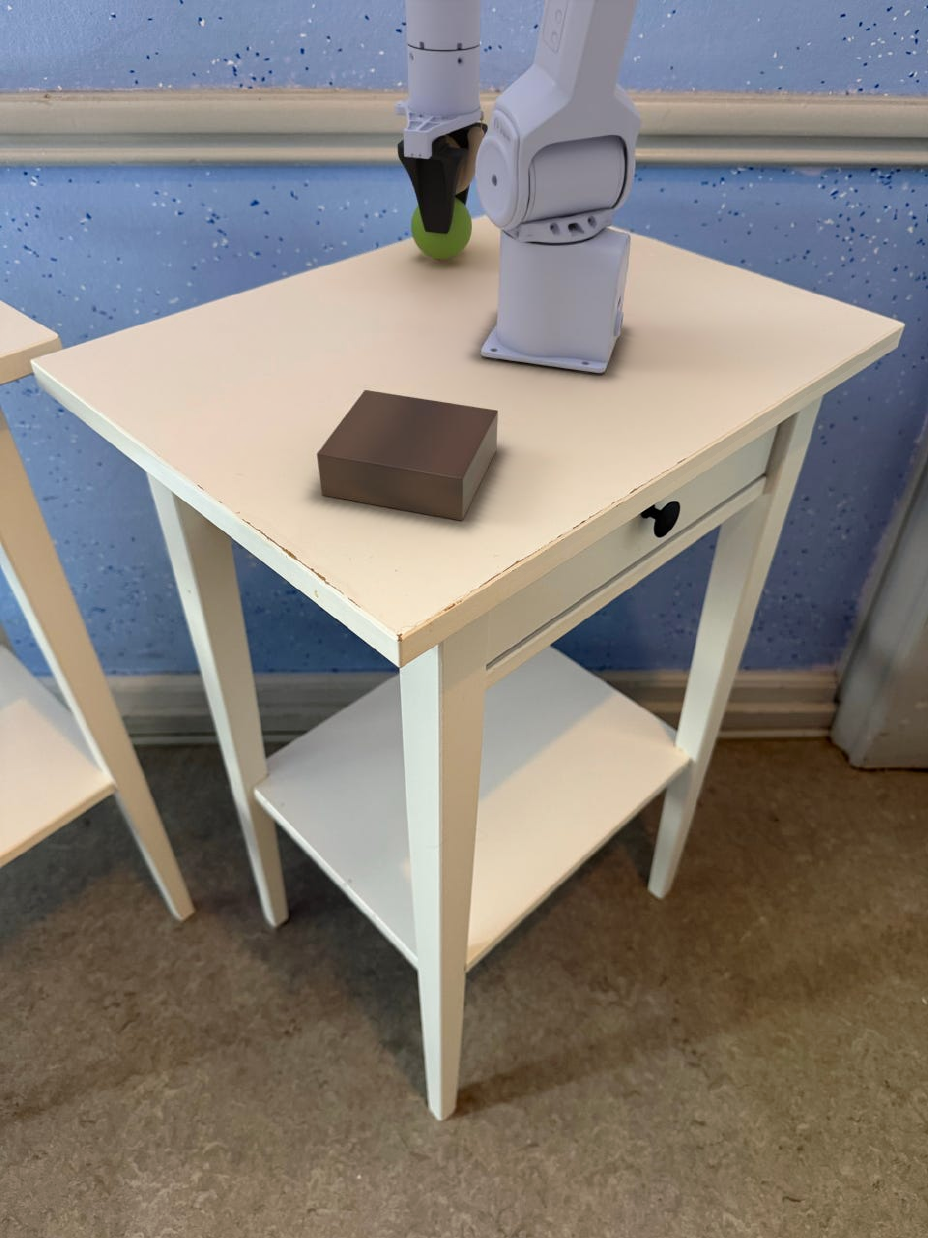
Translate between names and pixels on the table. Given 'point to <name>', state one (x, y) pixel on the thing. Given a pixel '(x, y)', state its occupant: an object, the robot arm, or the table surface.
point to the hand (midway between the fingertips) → (444, 222)
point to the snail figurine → (461, 222)
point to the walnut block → (409, 454)
